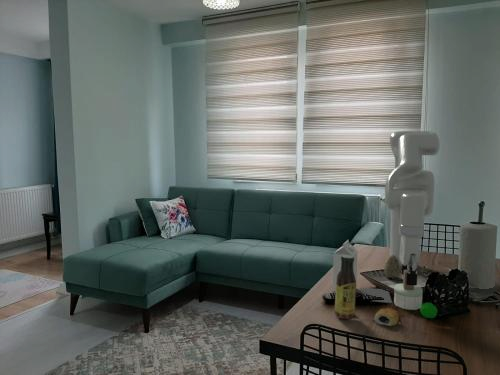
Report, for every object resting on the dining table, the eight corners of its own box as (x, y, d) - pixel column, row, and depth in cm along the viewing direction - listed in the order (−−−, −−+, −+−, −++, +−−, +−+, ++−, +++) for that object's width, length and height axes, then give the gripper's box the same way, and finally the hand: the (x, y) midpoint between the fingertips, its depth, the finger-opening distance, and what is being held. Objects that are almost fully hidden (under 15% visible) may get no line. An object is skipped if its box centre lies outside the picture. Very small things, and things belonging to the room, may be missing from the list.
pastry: (381, 312, 134) (382, 301, 134) (403, 317, 130) (403, 306, 130) (372, 323, 127) (373, 311, 126) (394, 329, 123) (395, 317, 122)
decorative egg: (385, 275, 167) (386, 252, 166) (400, 278, 164) (402, 254, 163) (383, 280, 162) (384, 256, 161) (398, 283, 159) (400, 258, 158)
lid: (392, 285, 143) (393, 266, 142) (419, 287, 141) (420, 267, 140) (395, 295, 135) (396, 274, 134) (424, 298, 133) (426, 276, 132)
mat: (360, 289, 153) (360, 287, 153) (388, 291, 151) (388, 289, 151) (361, 302, 142) (362, 300, 142) (392, 304, 140) (392, 302, 140)
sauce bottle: (343, 322, 127) (345, 260, 124) (330, 314, 133) (332, 255, 130) (359, 317, 130) (361, 257, 127) (346, 310, 136) (347, 252, 133)
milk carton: (332, 293, 150) (333, 242, 147) (337, 286, 156) (339, 238, 153) (351, 296, 147) (353, 245, 144) (356, 289, 153) (357, 240, 150)
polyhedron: (420, 320, 128) (421, 305, 128) (419, 313, 133) (419, 299, 132) (437, 322, 127) (438, 307, 126) (435, 315, 131) (436, 301, 131)
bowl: (393, 299, 143) (393, 286, 143) (418, 301, 142) (419, 288, 141) (396, 310, 135) (396, 295, 135) (423, 312, 134) (423, 297, 133)
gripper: (395, 223, 144) (393, 270, 146) (403, 236, 127) (400, 288, 130) (418, 224, 142) (415, 271, 145) (429, 237, 126) (426, 290, 128)
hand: (408, 279), depth 137 cm, fingers open, 9 cm apart
